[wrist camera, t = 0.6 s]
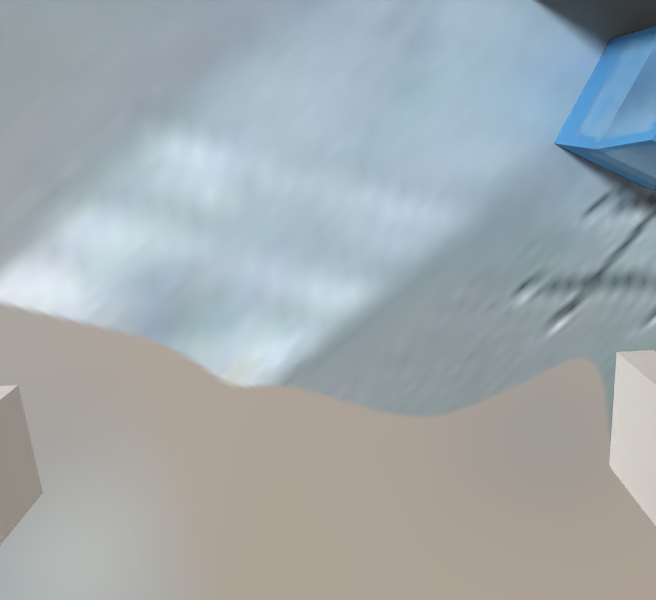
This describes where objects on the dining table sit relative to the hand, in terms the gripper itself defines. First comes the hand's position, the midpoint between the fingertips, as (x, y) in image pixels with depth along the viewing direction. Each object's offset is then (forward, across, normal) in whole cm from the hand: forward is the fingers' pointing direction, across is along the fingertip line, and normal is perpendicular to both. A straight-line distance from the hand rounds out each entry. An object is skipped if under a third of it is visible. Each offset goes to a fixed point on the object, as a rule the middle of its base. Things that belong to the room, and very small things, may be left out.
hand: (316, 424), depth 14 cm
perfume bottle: (+25, +17, +6) cm, 31 cm away
